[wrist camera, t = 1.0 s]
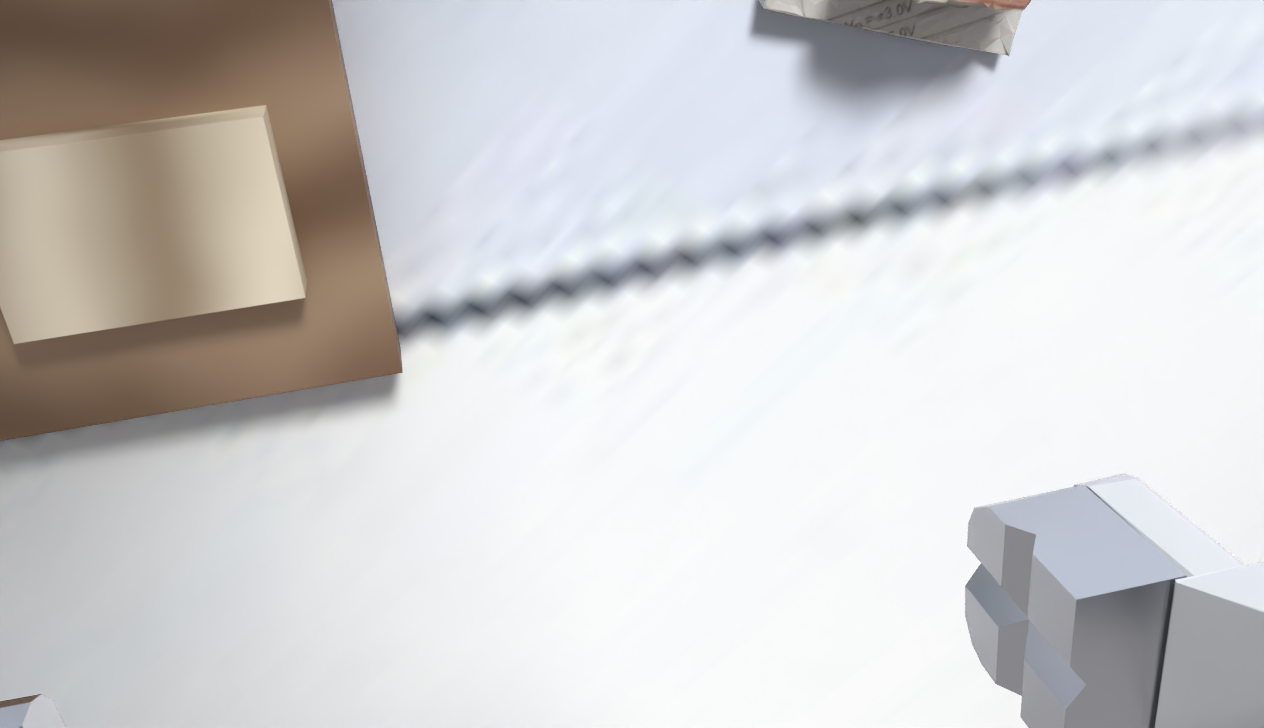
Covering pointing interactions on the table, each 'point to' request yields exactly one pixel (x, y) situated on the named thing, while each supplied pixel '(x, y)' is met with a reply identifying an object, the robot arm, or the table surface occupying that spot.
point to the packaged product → (920, 19)
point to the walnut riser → (313, 175)
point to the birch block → (144, 224)
